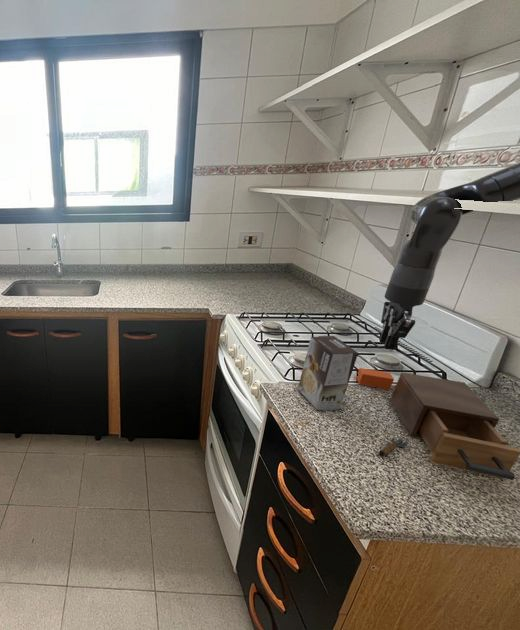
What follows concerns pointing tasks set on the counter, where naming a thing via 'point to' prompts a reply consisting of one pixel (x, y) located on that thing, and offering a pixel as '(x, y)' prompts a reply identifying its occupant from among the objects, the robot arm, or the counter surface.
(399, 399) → the cabinet
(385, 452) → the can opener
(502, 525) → the counter surface
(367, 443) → the counter surface
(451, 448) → the drawer
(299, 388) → the coffee box
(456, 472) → the counter surface
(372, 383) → the orange block
